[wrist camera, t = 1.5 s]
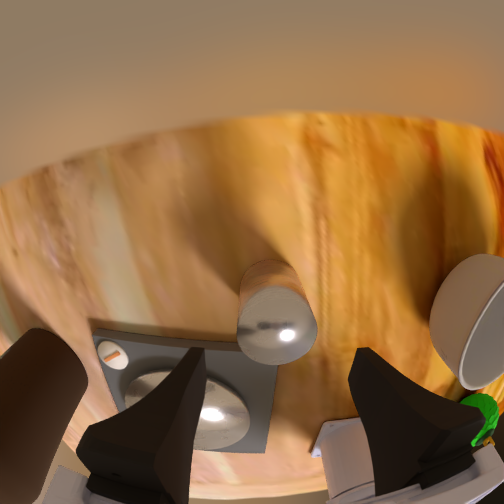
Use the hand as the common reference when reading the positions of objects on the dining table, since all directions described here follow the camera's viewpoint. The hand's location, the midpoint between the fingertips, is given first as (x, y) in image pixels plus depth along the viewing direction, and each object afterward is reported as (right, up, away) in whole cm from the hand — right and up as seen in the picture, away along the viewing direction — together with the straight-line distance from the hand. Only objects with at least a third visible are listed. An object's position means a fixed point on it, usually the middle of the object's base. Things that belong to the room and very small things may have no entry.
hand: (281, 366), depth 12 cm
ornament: (+29, -16, +15) cm, 37 cm away
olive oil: (-23, -7, +11) cm, 27 cm away
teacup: (+20, +1, +9) cm, 22 cm away
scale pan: (-8, -10, +11) cm, 16 cm away
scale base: (-8, -9, +12) cm, 17 cm away
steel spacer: (0, +3, +8) cm, 9 cm away
